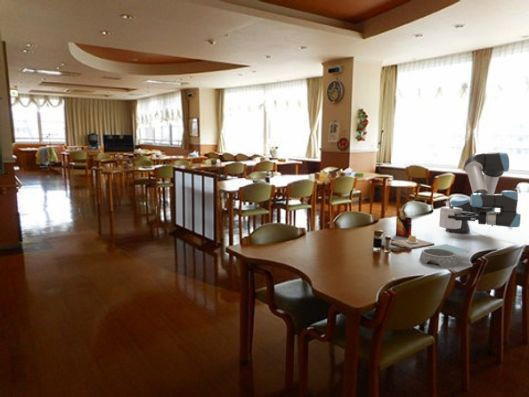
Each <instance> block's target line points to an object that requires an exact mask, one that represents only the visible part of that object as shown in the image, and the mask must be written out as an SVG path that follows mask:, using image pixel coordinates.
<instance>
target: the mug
mask: <svg viewBox="0 0 529 397" xmlns="http://www.w3.org/2000/svg"><path fill="white" fill-rule="evenodd" d="M395 221H396V222H395V236H396V237H399V238H409V236H410V235H412V228H413V227H412V225H413V224H412V222H413V218H411V217H409V216H397V217H396V220H395Z"/></svg>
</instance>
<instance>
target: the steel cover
mask: <svg viewBox="0 0 529 397" xmlns="http://www.w3.org/2000/svg"><path fill="white" fill-rule="evenodd" d="M439 211H440V212H439V223H438V225H439V226H438V227H439V228H440V227H441V228H443V229H446V228H449V229H460V228H461V222H462V221H460V220H457V221H456V220H455V219H444V218H442V213H444V214H456V215H462V209H461V208H457V207H454V206H453V205H450V204H449V205H448V206H440V210H439Z"/></svg>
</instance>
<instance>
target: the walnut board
mask: <svg viewBox="0 0 529 397" xmlns="http://www.w3.org/2000/svg"><path fill="white" fill-rule="evenodd" d="M406 240H408V238H404V239H397V240H392V241H391V242H392V243H395V244H399V245H402V246H405V247H407V248H406V249H409V250H414V249H415V250H416V249H420V248H421V249H422V248H426V247H427V248H428V247H433V246H435V243H434V242H430V241H427V240H422V239H420V238H416V240H417V241H418V244H410V243H407V242H406Z"/></svg>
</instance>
